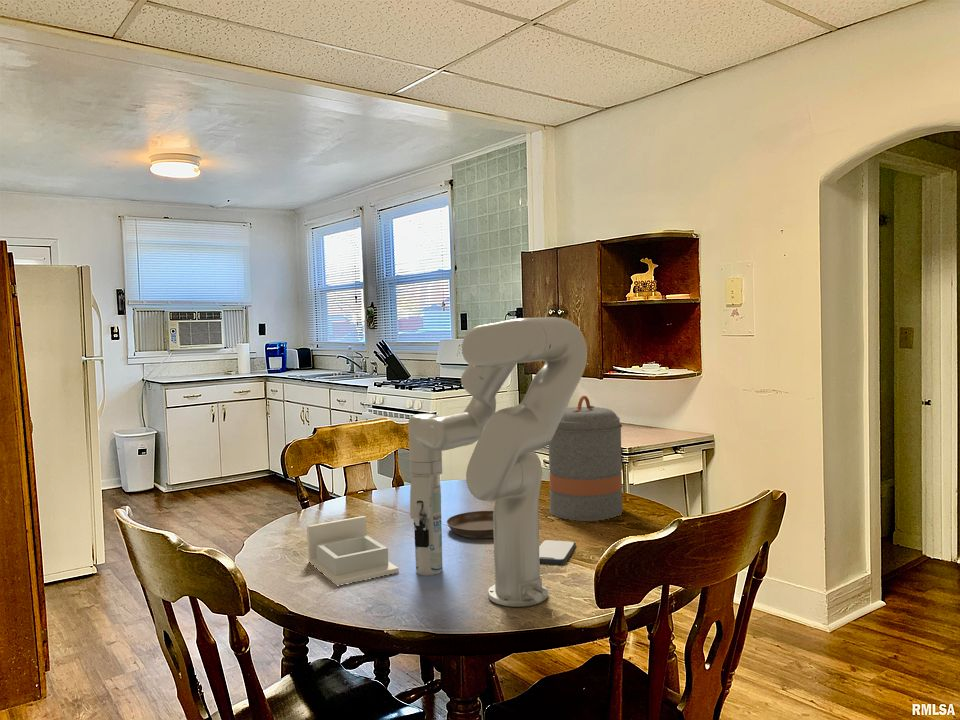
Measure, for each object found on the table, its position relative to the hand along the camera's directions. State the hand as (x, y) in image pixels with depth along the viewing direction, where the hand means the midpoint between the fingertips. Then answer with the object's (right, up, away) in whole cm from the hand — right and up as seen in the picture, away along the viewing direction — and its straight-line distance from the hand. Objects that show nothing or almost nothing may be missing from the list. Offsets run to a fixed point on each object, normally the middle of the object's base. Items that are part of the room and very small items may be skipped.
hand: (428, 540), depth 170 cm
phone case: (+30, -6, +11) cm, 33 cm away
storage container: (+44, -4, +49) cm, 66 cm away
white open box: (-18, -8, +4) cm, 20 cm away
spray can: (0, -7, 0) cm, 7 cm away
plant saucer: (+13, -6, +33) cm, 36 cm away
